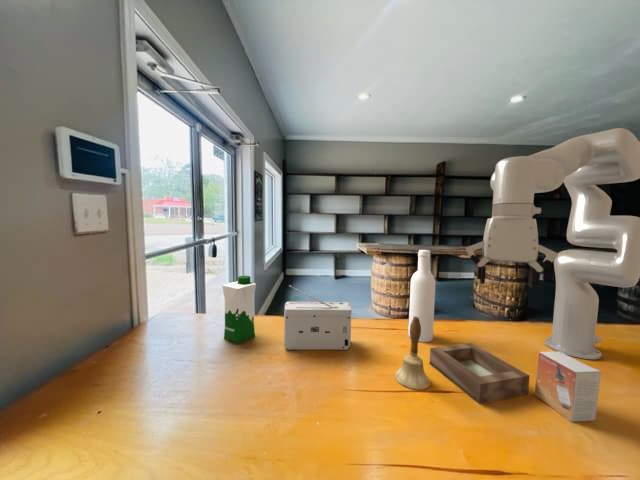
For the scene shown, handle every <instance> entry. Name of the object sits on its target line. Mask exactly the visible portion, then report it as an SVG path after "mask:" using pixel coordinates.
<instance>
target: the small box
mask: <svg viewBox="0 0 640 480" xmlns="http://www.w3.org/2000/svg"><path fill="white" fill-rule="evenodd" d="M537 356H538V358H537V369H536V376H535V386H534V387H535V388H534V396H535V397H537V398H538V399H540V400H541V401H543V402H544V403H545V404H547V405H548V406H549V407H551V408H552V409H553V410H555V411H556V412H557V413H559V414H560V415H561V416H562V417H564V418H565V419H566V420H567V421H569V422H570V423H571V422H572V423H573V422H589V421H590V422H591V421H596V416H597V408H598V401H599V392H600V391H599V390H600V384H601V382H600V381H601V375H602V371H601V370H599V369H596V368H594V367H591V366H589V365H588V364H586V363H583V362H582V361H579V360H577V359H576V358H573V356H570V355H567V354H564V353H562V352H558V351H539V352H538V355H537Z"/></svg>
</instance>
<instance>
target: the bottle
mask: <svg viewBox="0 0 640 480" xmlns="http://www.w3.org/2000/svg"><path fill="white" fill-rule="evenodd" d="M417 257H418V258H417V259H418V260H417V270H416V271H415V272H414V273H413V274H412V276H411V278H410V287H409V289H410V291H409V293H410V294H409V308H408V309H409V313H408V329H407V331H408V332H407V334H408V335H407V336H408V337H409V338H410V339H411V337H410V325H411V322H412V320H413V317H418V318H419V321H420V325H421V335H420V338H419V341H418V343H419V342H420V343H429V342H432V341H433V340H434V339H433V337H434V321H435V318H434V317H435V303H436V302H435V299H436V278H435V276H434V275H433V273H432V272H431V271H430V266H431V265H430V262H431V250H429V249H419V250H418V253H417Z"/></svg>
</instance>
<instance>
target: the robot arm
mask: <svg viewBox="0 0 640 480" xmlns="http://www.w3.org/2000/svg"><path fill="white" fill-rule="evenodd" d="M494 169H495V170H494V172H493V173H492V174H491V177H490V182H489V183H490V188H491V190H492V191H493V194H492V195H493V197H492V208H491V210H492V211H491V217H489V218H487V220H486V224H485V227H484V231H483V232H484V233H483V239H482V241H481V242H477V243H475V244H472V245H469V246H467V247H466V248H465V251H466V252H467V254H468V256H469V259H471V260H472V262H474V264H475V265H476V266H477V274H476V275H477V276H476V279H477V280H479V282H480V284H481V285H482V284H483V285H484V284H485V282H486V273H487V272H486V270H487V269H486V266H485V265H486V264H487V263H488V262H490V261H498V262H499V261H501V262H511V263H512V262H514V263H526V264H528V265H529V267H530V268H531V269H530V270H528V282H527V287H529V288H530V289H532V290H536V289H537V286H540V280H541V279H540V277H541V273H542V272H543V271H544V270H545V269H547V268H548V267H550V266H551V265H552V263H553V266H554V267H553V268H554V274H555V294H554V295H555V296H554V297H555V298H554V304H553V305H554V306H553V318H552V319H553V320H552V329H551V337H550V336H549V337H546V338H545V339H544V344H545V345H546V346H547V347H549V348H551V349H552V350H554V351H555V352H562V353H564V354H566V355H568V356H570V357H575V358H578V359H583V360H584V359H585V360H598V359H601V358H602V351H600V350H599V349H597V348H595V344H597V343H602V338H601V337H600V336H596V333H597V323H598V312H599V302H600V300H599V295H598V293H597V291H596V290H595V289H594V288H593V286H592V285H591V284H597V285H602V286H603V285H604V286H610V287H617V288H632V287H634V286H636V285H637V284H638V282H639V279H640V217H639V216H635V215H634V216H633V215H611V210H612V205H613V204H612V203H613V200H612V199H611V197H610V196H609V195H608V193H606V191H604V190H602V189H601V188H600V187H598V186H597V185H607V184H618V183H619V184H620V183H628V182H629V183H630V182H634V181H636V180H639V179H640V141H639V140H638V138H637V137H636V136H635V135H634V133H633V132H632V131H630V130H629V129H627V128H623V127H622V128H621V127H617V128H611V129H608V130H607V129H606V130H602V131H598V132H597V131H596V132H594V133H588V134H583V135H579V136H575V137H572V138H570V139H567V140H565V141H563V142H561V143H558V144H557V145H555V146H553V147H550V148H547V149H544V150H541V151H539V152H536V153H533V154H530V155H519V156H511V157H506V158H504V159H501V160H499V161H498V162H497V163H496V164H495V168H494ZM562 184H564V186H565V188H566V189H567V192H568V193H569V196H570V198H571V200H570V201H571V209H570V214H569V218H568V224H567V229H566V240H567V242H568V243H570V244H571V245H574V246H577V247H579V246H580V247H587V248H588V247H589V248H603V249H613V250H614V249H615V250H616V251H617V252H608V251H607V252H606V251H598V250H586V249H567V250H562V251H559V252H556V251H553V250H552V249H550V248H547V247H545V246H543V245H541V244H539V236H538V235H539V231H538V226H537V225H538V223H537V219H536V218H533V216H535V215H536V214H541V213H542V207H537V206H535V204H534V198H535V194H538V193H539V194H540V193H547V192H551V191H552V192H553V191H554V190H556V189H558V188H560V186H562ZM480 249H481V254H482V256H481V257H480V258H479V257H477V256H476V254H475V252H474V251H477V250H480ZM539 252H540V253H542V254H544V255H545V257H544V259H542V260H541V261H540V262H538V261H537V260H538V256H539Z"/></svg>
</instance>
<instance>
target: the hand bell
mask: <svg viewBox="0 0 640 480" xmlns="http://www.w3.org/2000/svg"><path fill="white" fill-rule="evenodd" d="M420 335H421V325H420V321H419V318H418V317H413V320H412V322H411V325H410V337H411V338H410V337H409V338H410V341H411V342H410V351H409V354H405V355H404V357H403V362H402V364H401V367H400V368H399V369H397V370H396V372H395V373H394V377H395V380H396V381H397V382H398V384H400V385H401V386H403V387H405V388H407V389H411V390H414V391H423V390H427V389H428V388H429V387H430V386H431V381H430V378H429V377H428V376H427V375H426V372H425V369H424V361H423V359H422V358H421V356H418V351H419V350H418V349H419V348H418V346H419V345H418V344H419V338H420Z"/></svg>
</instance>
